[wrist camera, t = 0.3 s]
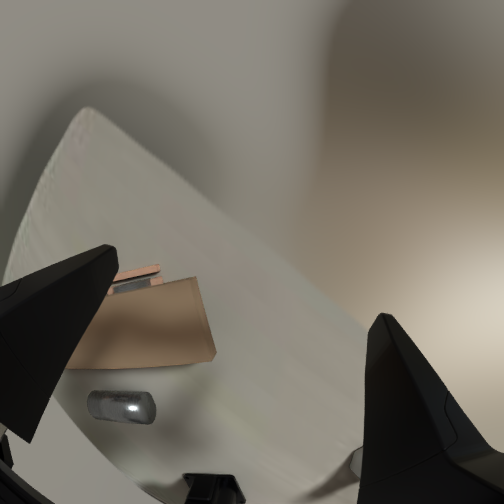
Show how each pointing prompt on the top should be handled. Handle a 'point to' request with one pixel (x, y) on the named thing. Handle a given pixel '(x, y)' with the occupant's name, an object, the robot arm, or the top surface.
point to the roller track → (136, 273)
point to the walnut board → (147, 329)
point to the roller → (122, 406)
